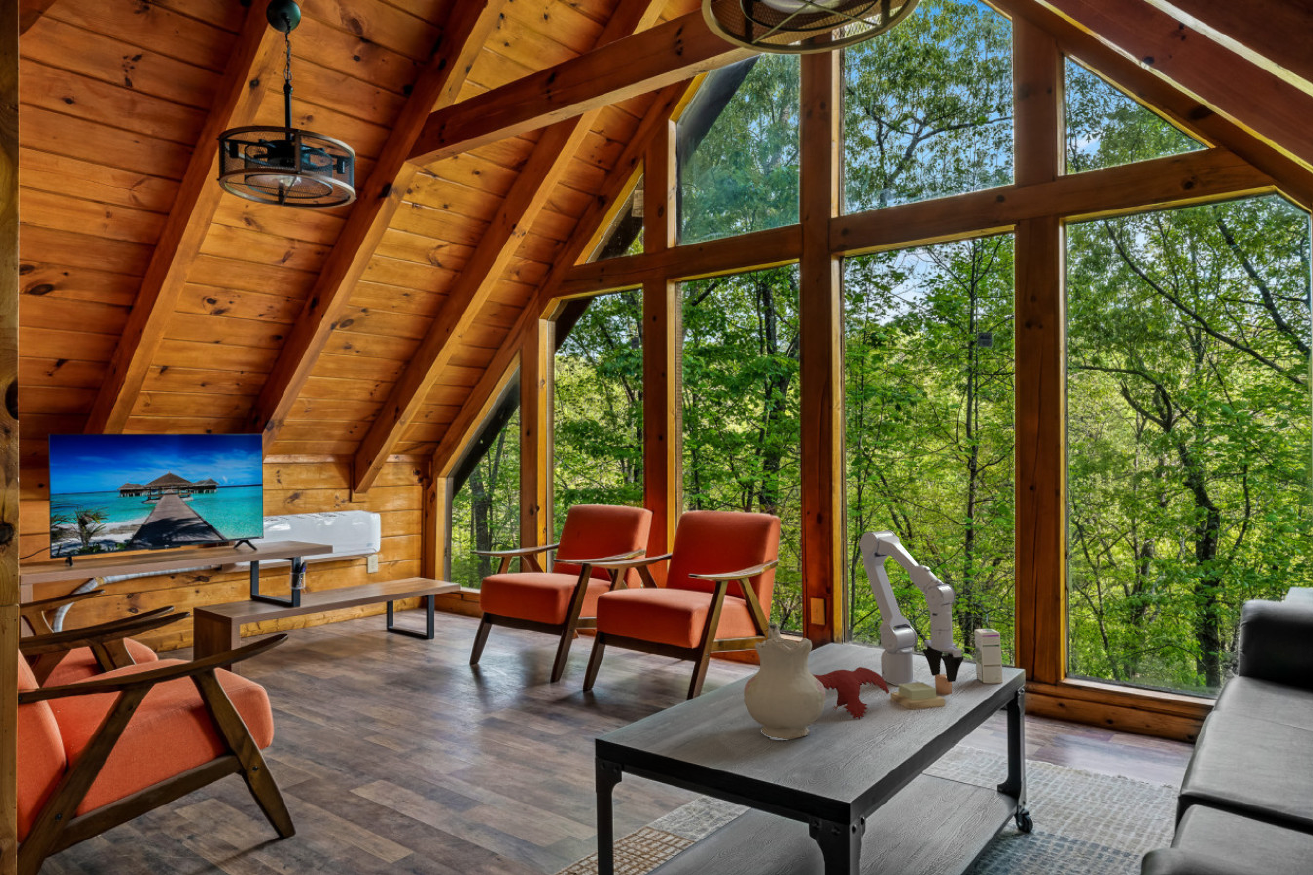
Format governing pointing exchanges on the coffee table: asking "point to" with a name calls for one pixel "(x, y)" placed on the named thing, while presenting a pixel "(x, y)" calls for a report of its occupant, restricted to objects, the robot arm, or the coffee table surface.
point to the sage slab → (917, 691)
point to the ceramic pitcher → (784, 687)
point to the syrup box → (988, 656)
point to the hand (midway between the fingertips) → (943, 678)
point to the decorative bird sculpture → (851, 687)
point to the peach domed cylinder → (942, 684)
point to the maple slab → (917, 701)
